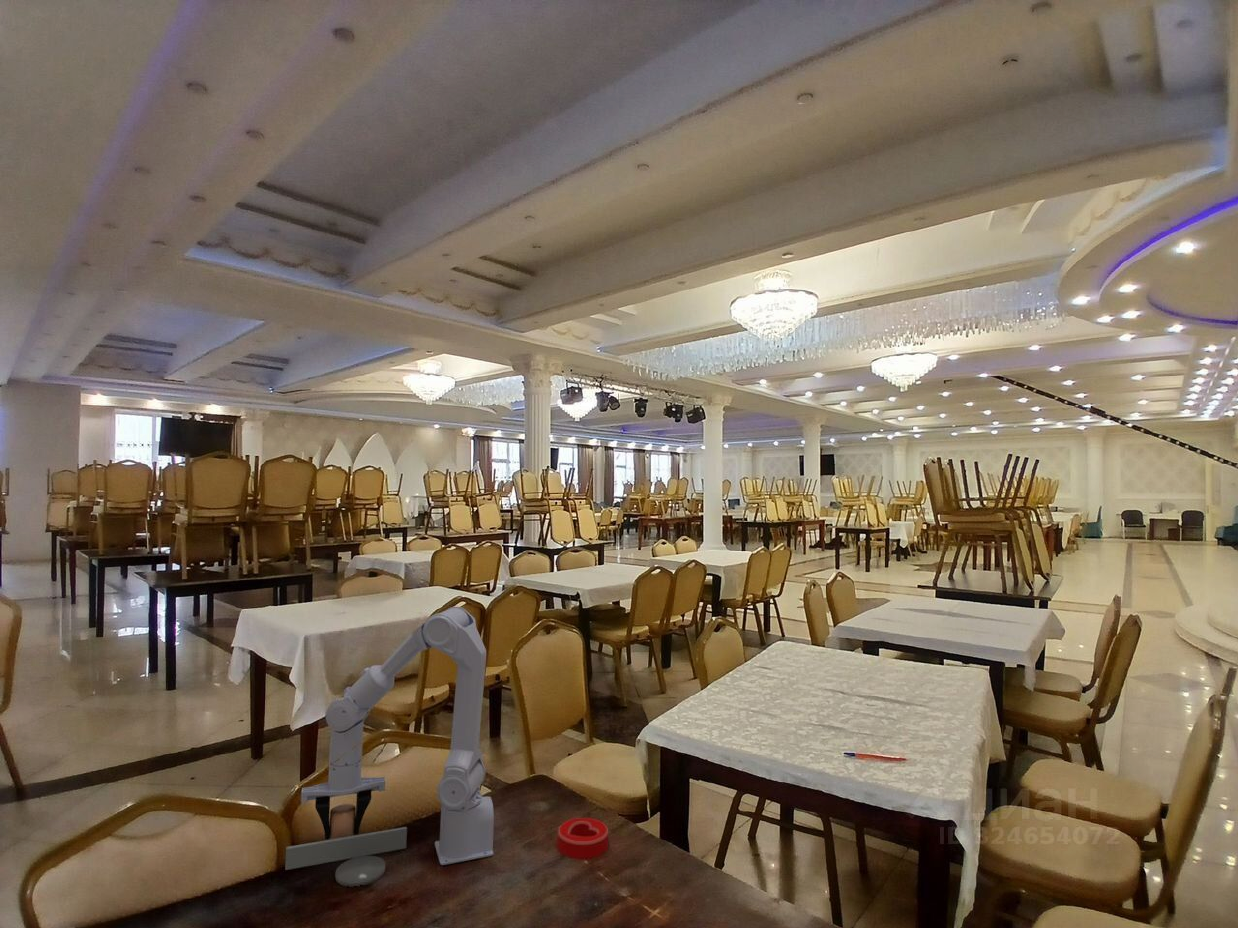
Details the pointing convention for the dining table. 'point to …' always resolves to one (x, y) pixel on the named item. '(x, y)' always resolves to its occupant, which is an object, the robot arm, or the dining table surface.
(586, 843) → the decorative ornament
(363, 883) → the slate coaster
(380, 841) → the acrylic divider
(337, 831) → the terracotta cylinder
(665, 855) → the dining table surface
